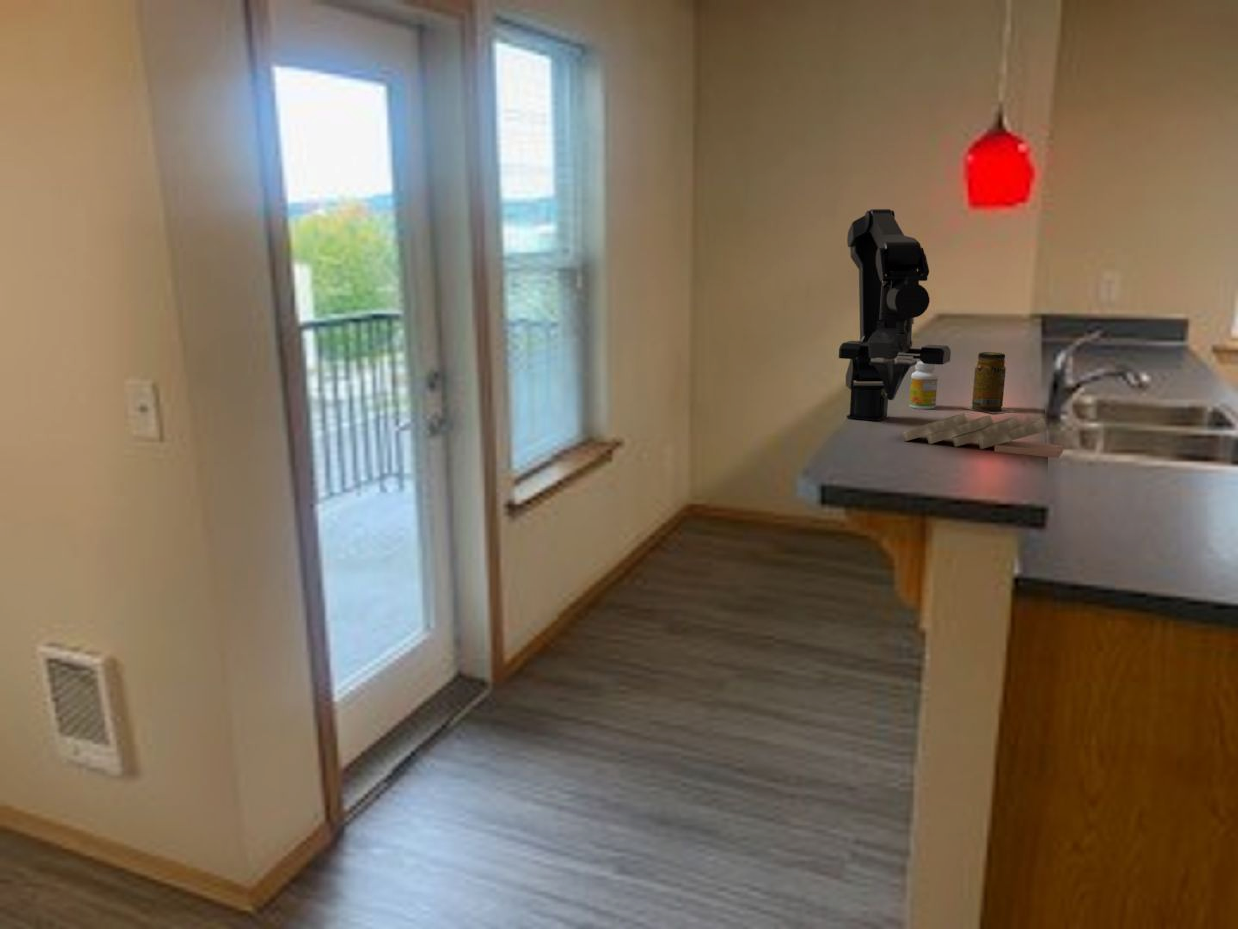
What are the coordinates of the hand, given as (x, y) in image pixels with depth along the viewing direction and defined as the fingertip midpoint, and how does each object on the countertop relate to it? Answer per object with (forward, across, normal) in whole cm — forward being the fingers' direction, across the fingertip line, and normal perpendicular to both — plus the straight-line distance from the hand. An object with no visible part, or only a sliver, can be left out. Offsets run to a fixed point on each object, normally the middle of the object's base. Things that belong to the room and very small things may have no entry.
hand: (890, 399), depth 168 cm
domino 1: (+6, +4, 0) cm, 7 cm away
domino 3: (+6, +12, -1) cm, 14 cm away
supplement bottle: (+7, -3, +34) cm, 35 cm away
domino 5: (+6, +19, -1) cm, 20 cm away
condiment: (+7, +10, +38) cm, 40 cm away
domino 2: (+6, +8, -1) cm, 10 cm away
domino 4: (+6, +17, -1) cm, 18 cm away
